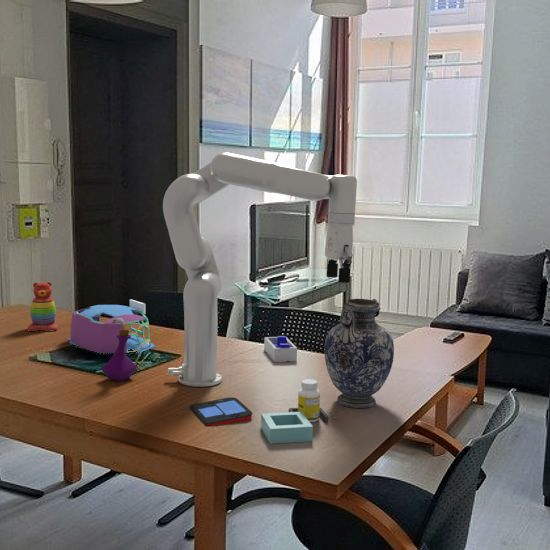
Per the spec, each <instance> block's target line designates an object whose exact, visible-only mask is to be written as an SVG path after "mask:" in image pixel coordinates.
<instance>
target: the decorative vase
mask: <svg viewBox="0 0 550 550" xmlns="http://www.w3.org/2000/svg"><path fill="white" fill-rule="evenodd" d="M343 308H344V309H342V310H341V311H340V315H339V316H340V317H339V322H340V323H338V324H337V325H335V326H334V327H332V328H331V329H330V330H329V332H328V333H327V334H326V337H325V340H324V342H325V343H324V361H325V366H326V371H327V373H328V375H329V378H330V381H331V382H332V384H333V386H334V387H335V389H337V391H339V392H340V393H341V394H339V395H337V398H336V402H337V403H338V404H339V405H340V406H343V407H345V408H350V409H369V408H373V407H375V405H376V403H377V400H376V398H375V397H374V396H373V395H374V394H376V393H378V392H379V391H380V390H381V388H382V387H383V386H384V385H385V383H386V381H387V379H388V378H389V375H390V372H391V370H392V367H393V364H394V363H393V362H394V357H395V345H394V340H393V337H392V335H391V333H390V332H389V331H388V330H387V329H386V328H385V327H383V326H381V325H379V324H378V323H377V322H376V317H378V316H380V311H381V306H380V303H379V301H378V300H377V299H376V298H372V299H368V298H367V299H366V298H351V299H348V300H347V302H346V303H344V305H343Z"/></svg>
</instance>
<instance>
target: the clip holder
mask: <svg viewBox="0 0 550 550" xmlns="http://www.w3.org/2000/svg"><path fill="white" fill-rule="evenodd" d="M263 341H264V342H263V343H264V345H263V346H264V347H263V350H264V352H265V353H266V352H267V353H266V354H267V355H268V356H269V358H270V357H271V358H270V359H271V360H272V361H273V362H274V363H281V362H282V363H284V362H285V363H287V362H286V361H290V362H297V359H298V347H297V346H296V345H295V344H294V343H292V341H291V340H290V339H289V338H288V337H287V336H286V344H289V345H290V347H289V348H276V347H275V346H274V345H273V344H275V345H277V336H267V337H266V336H265V337H264V340H263Z"/></svg>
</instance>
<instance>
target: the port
mask: <svg viewBox="0 0 550 550" xmlns="http://www.w3.org/2000/svg"><path fill="white" fill-rule="evenodd" d="M260 415H261V416H260V429H261V430H262V432H263V434H264V436H265V438H266V439H267V441H268V443H269V445H272V444H286V443H302V442H303V443H304V442H313V436H314V435H313V434H314V431H313V430H314V426H313V424H312V422H309V421H308V419H307V418H306V417H305V416H304V414H303V413H302V412H288V411H287V412H286V411H285V412H270V413H269V412H267V413H264V412H263V413H261V414H260Z"/></svg>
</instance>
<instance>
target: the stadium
mask: <svg viewBox="0 0 550 550" xmlns="http://www.w3.org/2000/svg"><path fill="white" fill-rule="evenodd" d="M146 309H147V308H146V303H144V302H140V301H137V300H134V299H129V306H127V305H120V304H97V305H92V306H88V307H86V308H82V309H79V310H75V311H72V315H71V321H70V338H68V339H67V341H68V340H69V341H70V342H71V343H70V342H69V341H68V342H69V343H70V345H72V344H73V345H76V346H80V347H82V348H85V349H87V350H90V351H94V352H97V353H100V354H101V353H103V354H105V353H106V354H107V353H108V354H109V353H110V354H111V353H115V352H116V349H117V347H118V344H119V339H118V338H117V335H119V330H121V329H125V327H124V328H123V325H122V324H120V323H119V322H118V321H116V322H115V324H114V325H113V320H114V319H116V318H122V319H123V320H124V322H125V323H124V325H125V324H129V327H130V330H129V335H130V336H131V338H129V339H128V340H127V341H126V344H125V348H124V349H125V353H129V352H136V351H137V352H138V353H139V352H143V351H146V350H148V351H150V350H149V349H151V350H153V349H155V348H156V346H157V345H155V344H154V343H152V342H151V339H150V338H151V337H150V323H149V319H148V317H147V316H146V314H147V313H146ZM133 312H136V313H139V314H141V315H137V314H134V313H133ZM101 315H106V316H109V317H112V318H109V319H107V320H105V321H104V322H102V321H100V317H101ZM144 321H145V322H144ZM140 322H141V323H140ZM132 323H137V325H138V327H137V328H134V327H133V325H132ZM140 328H142V331H141V330H140ZM145 330H146V331H147V339H146V336H145ZM138 334H139V335H141V336H142V337H140V336H139V335H138ZM73 345H72V346H73ZM130 349H132V350H133V351H128V350H130ZM137 352H136V353H137ZM146 352H147V351H146Z"/></svg>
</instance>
